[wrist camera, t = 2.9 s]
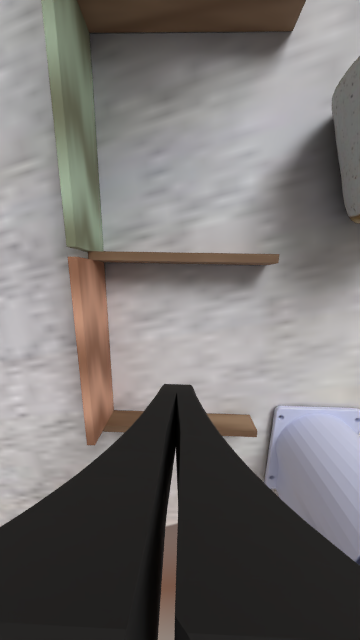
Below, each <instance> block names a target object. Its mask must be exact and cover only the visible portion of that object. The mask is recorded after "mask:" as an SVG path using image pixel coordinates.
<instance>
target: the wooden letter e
mask: <svg viewBox="0 0 360 640" xmlns="http://www.w3.org/2000/svg"><path fill="white" fill-rule="evenodd" d="M305 1H306V0H41V3H42V13H43V22H44V32H45V42H46V51H47V61H48V71H49V80H50V90H51V100H52V109H53V119H54V129H55V138H56V148H57V158H58V167H59V177H60V187H61V197H62V206H63V216H64V226H65V235H66V245H67V247H70V248H74V249H78V250H81V251H85V252H88V259H85V258H80V257H68V264H69V274H70V284H71V293H72V303H73V313H74V322H75V332H76V342H77V351H78V361H79V371H80V380H81V390H82V400H83V409H84V419H85V429H86V439H87V445H95V444H96V442H97V440H98V438H99V437H100V435H101V433H102V431H104V432H126V431H127V430H128V429H129V428H130V427H131V426H132V424H133V423H134V422H135V421H136V420H137V419H138V418H139V417H140V415H141V414H142V413H143V412H144V411H118V410H114V407H113V391H112V376H111V360H110V345H109V329H108V314H107V298H106V283H105V267H104V262H111V263H168V264H225V265H271V264H277V263H278V261H279V254H229V253H167V252H106V251H103V236H102V220H101V205H100V189H99V174H98V158H97V143H96V127H95V112H94V96H93V81H92V65H91V49H90V34H89V33H125V32H254V31H293V29H294V27H295V24H296V22H297V20H298V17H299V15H300V13H301V11H302V8H303V6H304V4H305ZM206 414H207V413H206ZM207 415H208V417H209V418H210V420H211V421H212V423H213V424H214V426H215V427H216V429H217V430H218V431H219V433H220V434H221V435H222V436H243V437H257V429H256V427H255V425H254V423H253V421H252V419H251V417H250V415H237V414H207Z"/></svg>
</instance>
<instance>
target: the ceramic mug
mask: <svg viewBox="0 0 360 640" xmlns="http://www.w3.org/2000/svg"><path fill="white" fill-rule="evenodd" d="M332 114H333V119H334V124H335V136H336V144H337V152H338V159H339V165H340V172H341V179H342V192H343V198H344V204H345V207H346V211H347V214H348V216H349V217H350V219H351V220H352V221H353V222H355V223H359V224H360V56H359V58H358V59H357V60H356V61H355V62H354V63H353V64H352V65H351V67H350V68H349V69H348V71H347V72H346V73H345V75H344V76H343V78H342V79H341V80H340V82H339V84H338V85H337V87H336V89H335V91H334V94H333V97H332Z"/></svg>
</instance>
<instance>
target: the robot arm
mask: <svg viewBox="0 0 360 640" xmlns="http://www.w3.org/2000/svg"><path fill="white" fill-rule="evenodd" d="M280 415H282V416H281V417H279V416H280ZM359 432H360V409H358V408H334V407H304V406H278V407H276V408H275V412H274V418H273V425H272V432H271V439H270V446H269V453H268V460H267V467H266V474H265V481H264V482H265V483H264V482H263V481H262V480H261V479H260V478H259V477H258V476H257V475H256V474H255V473H254V472H253V471H252V470H251V469H250V468H249V467H248V466H247V465H246V464H245V463H244V462H243V461H242V459H241V458H240V457H239V456H238V455H237V454H236V453H235V452H234V450H233V449H232V448H231V447H230V446H229V444H228V443H227V442H226V441H225V439H224V438H223V437H222V435H221V434H220V433H219V431H218V430H217V429H216V427H215V426H214V424H213V423H212V421H211V420H210V418H209V417H208V415H207V414H206V412H205V410H204V409H203V407H202V405H201V404H200V402H199V400H198V398H197V396H196V394H195V392H194V389H193V387H192V386H191V385H178V384H164V385H163V386H162V387H161V389H160V390H159V392H158V393H157V395H156V396H155V398H154V399H153V400H152V402H151V403H150V404H149V406H148V407H147V408H146V409H145V411H144V412H143V413H142V414H141V415H140V417H139V418H138V419H137V420H136V421H135V422H134V423H133V424H132V426H131V427H130V428H129V429H128V430H127V431H126V432H125V433H124V434H123V435H122V436H121V437H120V438H119V439H118V440H117V441H116V442H115V443H114V444H112V445H111V446H110V447H109V448H108V449H107V450H106V451H105V452H104V453H102V454H101V455H100V456H99V457H98V458H97V459H95V460H94V461H93V462H92V463H91V464H89V465H88V466H87V467H86V468H85V469H83V470H82V471H81V472H80V473H78V474H77V475H76V476H74V477H73V478H72V479H70V480H69V481H68V482H66V483H65V484H63V485H62V486H61V487H59V488H58V489H57V490H55V491H54V492H52V493H51V494H50V495H48V496H47V497H45V498H44V499H42V500H41V501H40V502H38V503H37V504H35V505H34V506H32V507H31V508H29V509H28V510H26V511H25V512H23V513H22V514H20V515H18V516H17V517H15V518H14V519H12V520H11V521H9V522H7V523H6V524H4V525H3V526H1V527H0V640H158V625H159V611H160V595H161V581H162V567H163V552H164V537H165V524H166V515H167V506H168V499H169V492H170V485H171V478H172V470H173V463H174V456H175V448H176V462H177V486H178V537H177V568H176V569H177V570H176V600H175V602H176V603H175V640H360V436H359ZM271 489H276V490H277V492H278V495H279V497H280V498H279V497H278V496H277V495H276V494H275V493H274V492H273V491H272V490H271Z"/></svg>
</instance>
